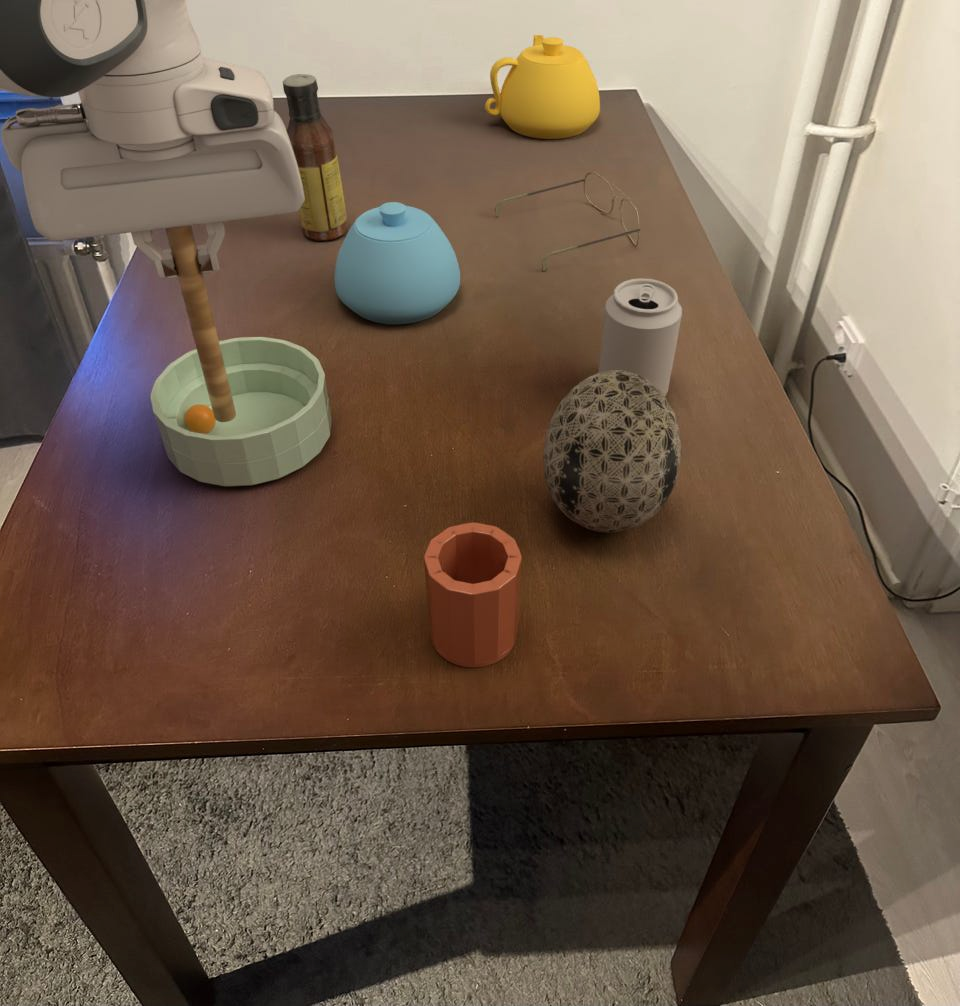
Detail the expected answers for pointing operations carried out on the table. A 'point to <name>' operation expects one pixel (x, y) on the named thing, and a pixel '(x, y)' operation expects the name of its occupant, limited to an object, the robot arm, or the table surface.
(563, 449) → the decorative egg
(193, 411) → the bead
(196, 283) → the stirring stick
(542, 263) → the eyeglasses
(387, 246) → the sugar bowl
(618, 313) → the can
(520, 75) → the teapot
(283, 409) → the bowl
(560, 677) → the table surface
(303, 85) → the sauce bottle
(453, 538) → the utensil pot
